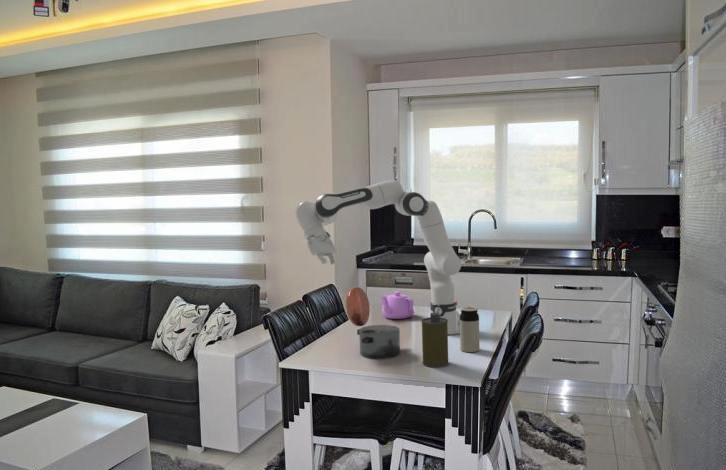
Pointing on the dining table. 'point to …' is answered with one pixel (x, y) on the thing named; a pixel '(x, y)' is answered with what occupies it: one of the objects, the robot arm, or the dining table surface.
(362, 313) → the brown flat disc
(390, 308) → the teapot
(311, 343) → the dining table surface
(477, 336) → the travel mug
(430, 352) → the canister
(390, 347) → the cooker pot
